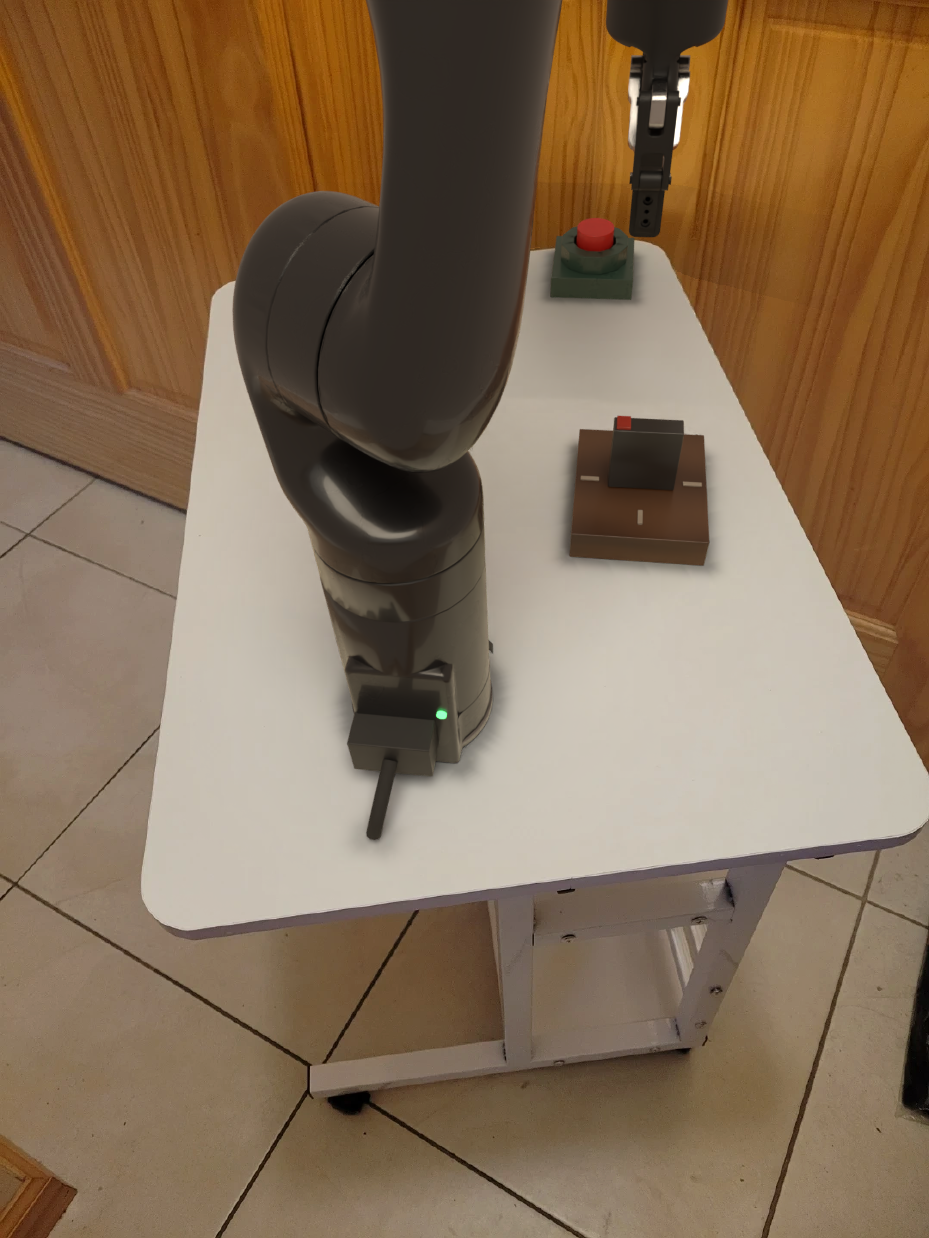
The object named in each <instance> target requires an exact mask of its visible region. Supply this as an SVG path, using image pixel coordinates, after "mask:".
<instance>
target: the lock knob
mask: <svg viewBox="0 0 929 1238" xmlns="http://www.w3.org/2000/svg"><path fill="white" fill-rule="evenodd" d="M612 431H613V434H612V443H611V453H610V462H609V471H608V487H624V488H642V489H660V490H674V486H675V481H676V475H677V470H678V465H679V459H680V454H681V449H682V443H683V438H684V434H685V421H684V420H683V419H665V418H663V419H662V418H645V417H644V418H643V417H632V416H631V415H617V416H615V417H614V418H613V425H612Z"/></svg>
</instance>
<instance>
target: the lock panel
mask: <svg viewBox="0 0 929 1238" xmlns="http://www.w3.org/2000/svg"><path fill="white" fill-rule="evenodd" d="M578 430H579V431H578V445H577V454H576V455H577V456H576V467H575V481H574V491H573V504H572V505H573V506H572V516H571V517H572V518H571V528H570V540H569V554H568V555H569V557H571V558H584V559H585V558H586V559H599V560H600V559H601V560H614V561H629V562H630V561H632V562H645V563H656V564H657V563H658V564H659V563H660V564H661V563H662V564H674V565H688V566H705V562H706V558H707V554H708V550H709V546H710V530H709V528H710V527H709V509H708V508H709V506H708V489H707V465H706V447H705V445H706V444H705V435H704V434H687V433H684V438H683V443H682V449H681V454H680V459H679V465H678V470H677V475H676V481H675V486H674V490H660V489H642V488H624V487H608V471H609V462H610V453H611V443H612V434H613V430H606V429H590V428H579V429H578Z"/></svg>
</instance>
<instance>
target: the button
mask: <svg viewBox="0 0 929 1238" xmlns="http://www.w3.org/2000/svg"><path fill="white" fill-rule="evenodd" d="M577 226H578V227H577V247H578V248H580V249H583V250H586V251H604V250H607V249H610V248H611V247H612V246H613V238H614V227H615V225H614V223H613V222H612V221H610V220H608V219H607V218H602V217H590V218H585V219H583V220H581V221H580V222H579V223H578V224H577Z"/></svg>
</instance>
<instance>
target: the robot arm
mask: <svg viewBox="0 0 929 1238" xmlns="http://www.w3.org/2000/svg"><path fill="white" fill-rule="evenodd" d="M365 3H366V8H367V12H368V16H369V21H370V24H371V28H372V34H373V39H374V45H375V52H376V57H377V58H376V59H377V65H378V70H379V83H380V90H381V92H380V93H381V103H382V104H381V105H382V154H381V156H382V157H381V177H380V191H379V192H380V193H379V203H378V204H379V205H377V204H376V203H373V202H371V201H369V200H366V199H364V198H361V197H358V196H356V195H352V194H349V193H345V192H341V191H334V190H318V191H310V192H306V193H302V194H299V195H297V196H295V197H292V198H290V199H288V200H287V201H285V202H283V203H281V204H280V205H279V206H277V207H276V208H275V209H274V210H272V211H271V212H270V213H269V214H268V215H267V216H266V217H265V218H264V219H263V220H262V222H261V223H260V224H259V226H257V228H256V230H255V231H254V233H253V234H252V235H251V237H250V238H249V241H248V243H247V245H246V247H245V248H244V251H243V254H242V256H241V259H240V262H239V265H238V269H237V272H236V276H235V282H234V288H233V296H232V329H233V330H232V331H233V336H234V337H233V338H234V345H235V350H236V355H237V360H238V364H239V368H240V372H241V375H242V380H243V382H244V385H245V389H246V391H247V392H246V393H247V395H248V398H249V401H250V404H251V407H252V410H253V414H254V417H255V419H256V422H257V425H258V428H259V430H260V434H261V436H262V440H263V442H264V446H265V448H266V452H267V455H268V457H269V460H270V463H271V466H272V469H273V472H274V475H275V477H276V479H277V483H278V485H279V486H280V488H281V491H282V492H283V494H284V496H285V497H286V499H287V501H288V503H289V504H290V506H292V508H293V509H294V511H295V512H296V513H297V515H298V516H299V518H300V519H301V521H302V522H303V523H304V524H305V526H306V529H307V532H308V537H309V539H310V545H311V548H312V551H313V555H314V559H315V563H316V567H317V571H318V575H319V581H320V583H321V587H322V593H323V595H324V599H325V603H326V608H327V610H328V614H329V618H330V622H331V626H332V630H333V634H334V638H335V643H336V645H337V646H336V647H337V649H338V653H339V657H340V661H341V664H342V668H343V672H344V677H345V680H346V684H347V688H348V691H349V695H350V699H351V707H352V712H353V718H352V722H351V726H350V730H349V733H348V737H347V742H346V745H347V748H348V752H349V755H350V759H351V762H352V765H353V769H354V770H360V771H361V770H362V771H370V772H371V771H373V772H379V775H378V779H377V783H376V787H375V792H374V796H373V800H372V805H371V808H370V809H371V810H370V814H369V817H368V823H367V827H366V832H365V834H366V837H367V838H368V839H369V840H371V841H377V840H380V838H381V837H382V833H383V829H384V825H385V819H386V816H387V812H388V807H389V804H390V803H389V802H390V798H391V794H392V789H393V784H394V782H395V776H396V774H402V775H411V776H421V777H434V774H435V773H434V772H435V766H436V762H441V763H452V764H455V763H458V762H460V759H461V754H462V750H463V748H464V747H466V746H467V745H468V744H470V743H471V742H472V741H473V740H475V738H476V737H477V736H479V734H480V733H481V732H482V730H483V729H484V727H485V725H486V724H487V723H488V720H489V718H490V716H491V712H492V709H493V708H492V707H493V698H494V697H493V696H494V695H493V684H492V680H491V659H490V653H491V654H493V655H494V643H493V642H492V641H491V640H490V639H489V615H488V614H489V613H488V591H487V587H488V586H487V564H486V533H485V532H486V531H485V530H486V529H485V503H484V501H485V500H484V486H483V481H482V477H481V472H480V470H479V467H478V465H477V462H476V461H475V459H474V457H473V455H472V454H471V452H470V451H469V450H471V449H472V448H473V447H474V446H475V444H476V443H477V442H478V440H479V439H480V437H481V436H482V435H483V433H484V432H485V431H486V429H487V427H488V425H489V423H490V422H491V420H492V418H493V416H494V414H495V412H496V411H497V408H498V406H499V405H500V402H501V400H502V398H503V394H504V392H505V390H506V386H507V385H508V384H507V383H508V381H509V378H510V375H511V371H512V368H513V364H514V360H515V355H516V351H517V347H518V342H519V337H520V332H521V327H522V321H523V314H524V308H525V307H524V306H525V299H526V291H527V283H528V274H529V265H530V256H531V247H532V238H533V237H532V236H533V228H534V221H535V220H534V219H535V210H536V200H537V192H538V191H537V190H538V182H539V171H540V164H541V154H542V146H543V145H542V144H543V135H544V127H545V126H544V125H545V117H546V108H547V101H548V100H547V99H548V93H549V87H550V82H551V81H550V80H551V73H552V68H553V62H554V54H555V49H556V41H557V37H558V30H559V24H560V19H561V12H562V6H563V0H365ZM728 3H729V0H606V11H605V13H606V14H605V27H606V31H607V33H608V35H609V36H610V38H611V39H613V40H614V41H615V42H616V43H618V44H620V45H622V46H625V47H627V48H631V47H632V48H634V49H637V50H639V51H641V52H642V55H641V54H640V55H637V54H635V55H634V54H631V57H630V70H629V77H628V89H627V102H629V104H630V111H629V120H628V121H629V122H628V134H627V147H628V148H629V149H630V150H631V151H632V152H633V162H632V171H630V172H629V185H631V186H630V190H631V202H630V213H629V223H628V234H629V235H630V237H632V238H656V237H659V235H660V233H661V227H662V218H663V211H664V204H665V203H664V202H665V194H666V191H669V188H670V187H669V186H670V185H672V180H673V179H672V178H673V176H672V173H671V168H672V161H673V153H674V151H675V150H676V149H678V146H679V143H680V141H681V133H682V122H683V111H684V105H685V103H686V101H687V99H688V95H689V90H690V82H691V81H690V80H691V71H690V65H691V55H690V54H682V53H683V52H685V51H686V50H688V49H691V48H694V47H695V48H698V47H702V46H704V45H706V44H708V43H710V42H711V41H713V40H714V39H716V38H717V37H718V36H719V34H720V33H721V32H722V30H723V28H724V26H725V22H726V17H727V11H728Z"/></svg>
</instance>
